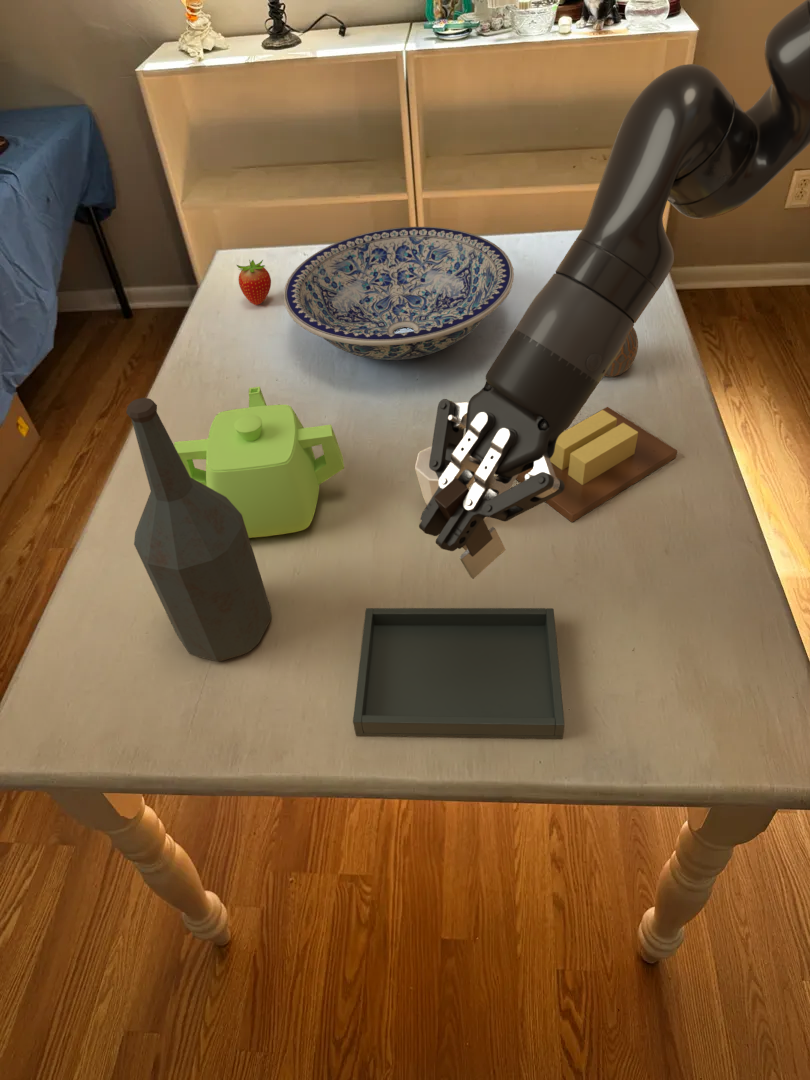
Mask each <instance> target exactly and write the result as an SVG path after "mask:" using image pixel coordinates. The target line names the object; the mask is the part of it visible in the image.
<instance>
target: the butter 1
mask: <svg viewBox="0 0 810 1080" xmlns="http://www.w3.org/2000/svg"><path fill="white" fill-rule="evenodd" d="M597 412H598V413H597ZM597 412H596V414H595V413H594V414H592V415H590V416H591V417H590V416H588V417H589V418H588V417H587V418H585V419H583V420H584V421H583V420H581V421H582V422H581V421H580V423H579V422H578V423H576V424H574V425H575V426H574V425H572V426H573V427H572V426H570V427H568V428H567V429H568V430H567V429H566V431H564V432H562V433H561V434H560V435H559V437H558V439H557V441H556V445H555V451H554V454H553V456H552V457H551V458H550V461H551V463H553V464H554V465H556V466H557V467H558V468H560V469H561V470H564V469H565V468H567V467H569V462H570V453H572V452H574V451H575V450H577V449H579V448H581V447H582V446H584V445H586V444H587V443H589V442H591V441H593V440H594V439H596V438H598V437H599V436H601V435H603V434H605V433H606V432H608V431H610V430H612V429H613V428H615V427H616V422H617V418H615V417H614V416H612V415H610V414H609V413H607V412H606V411H604V410H602V409H601V410H599V411H597Z"/></svg>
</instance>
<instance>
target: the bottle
mask: <svg viewBox="0 0 810 1080" xmlns="http://www.w3.org/2000/svg"><path fill="white" fill-rule="evenodd" d="M157 410H158V404H157V403H156V402H155V401H154V400H153V399H151V398H147V397H140V398H136V399H133V400H132V401H131V402H130V403H129V404H128V405H127V408H126V415H127V416H128V417H129V418H130V419H131V423H132V426H133V430H134V433H135V437H136V441H137V445H138V449H139V452H140V456H141V460H142V464H143V467H144V472H145V475H146V479H147V483H148V485H149V489H150V492H149V495H148V497H147V500H146V503H145V505H144V508H143V511H142V513H141V516H140V518H139V521H138V524H137V526H136V529H135V532H134V540H133V545H134V548H135V549H136V552H137V555H138V556H139V558H140V561H141V562H142V564H143V567H144V568H145V571H146V573H147V575H148V577H149V579H150V581H151V584H152V585H153V588H154V590H155V592H156V594H157V596H158V598H159V601H160V602H161V605H162V607H163V609H164V611H165V613H166V615H167V618H168V620H169V621H170V624H171V626H172V628H173V630H174V632H175V635H176V636H177V638H178V639H179V641H180V642H181V644H182V645H183V647H184V648H185V650H186V651H187V653H188V654H189V655H190V656H194V657H198V658H203V659H206V660H211V661H215V662H219V663H221V662H223V661H226V660H231V659H233V658H237V657H239V656H243V655H247V654H248V653H249V652H251V651H252V650H253V649H254V648H256V647H257V646H258V645H259V643H260V641H261V640H262V638H263V636H264V634H265V631H266V630H267V628H268V626H269V625H270V622H271V620H272V610H271V604H270V601H269V598H268V595H267V591H266V588H265V584H264V582H263V579H262V575H261V573H260V569H259V566H258V562H257V560H256V556H255V553H254V549H253V546H252V542H251V539H250V538H249V537H248V533H247V530H246V527H245V524H244V521H243V517H242V514H241V513H240V512H239V511H238V510H237V509H236V508H235V506H234V505H233V504H232V503H231V502H230V501H229V500H228V499H227V497H225V496H223V495H222V494H220V493H218V492H216V491H214V490H212V489H211V488H209V487H207V486H205V485H203V484H202V483H200V482H198V481H196V480H194V479H193V478H191V477H190V476H189V474H188V472H187V470H186V468H185V466H184V464H183V462H182V460H181V458H180V456H179V454H178V452H177V450H176V448H175V446H174V442H173V441H172V439H171V437H170V435H169V433H168V431H167V429H166V426H164V423H163V422H162V419H161V417H160V415H159V414H158V411H157Z"/></svg>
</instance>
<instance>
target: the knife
mask: <svg viewBox="0 0 810 1080" xmlns="http://www.w3.org/2000/svg"><path fill="white" fill-rule="evenodd" d="M469 490H470V488H469V489H468V488H467V487H466V486H465V485H464V484H463V483H461V482H460V481H459V480H458V479H457V478H455V479H454V480H452V481H451V482H450V483H449V484H448V485H447V486H446V487H445V488H443V489H442V490H441V491H440V492H439V493H438V494H437V495H436V496H434V500H435V501H436V503H437V505H438V507H439V508H440V510H441V512H442V514H443V515H444V517H445V519H446V521H447V522H448V521H449V519H450V518H451V517H452V515H453V514H454V512H455V511H456V509H457V508H458V506H459V505H460V506H463V500H464V498H465V497H466V495H467V493H468V492H469ZM484 519H485V518H484ZM484 519H483V520H482V521H481V522H480V523H479V525H478V526H477V528H476V529H475V531H474V532H473V534H472V535H471V537H470V538H469V539H468V541H467V543H466V544H465V546H463V547H462V548H461V549H463V550H464V552H463V553H462V554H460V555H459V556H458V558H459V560H460V561H461V563H462V565H463V567H464V568H465V570H466V572H467V574H468V575H469V577H470V578H471V579H472V580H474V579H476V577H478V575H480V574H481V573H482V572H483V571H484V570H485V569H486V568H487V567H488V566H490V565H491V564H492V563H493V562H494V561H495V560H497V558H498V557H500V555H502V554H503V553H504V552H505V551H506V548H505V545H504V543H503V541H502V539H501V537H500V534H499V533H498V531H497V528H496V527H495V526H491V527H490V528H489V527H488V526H487V523H486V522H485V520H484Z"/></svg>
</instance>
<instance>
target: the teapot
mask: <svg viewBox="0 0 810 1080" xmlns="http://www.w3.org/2000/svg"><path fill="white" fill-rule="evenodd" d="M173 445H174V446H175V448H176V450H177V452H178V454H179V456H180V458H181V460H182V462H183V464H184V466H185V468H186V470H187V472H188V474H189V476H190V477H191V478H193V479H194V480H196V481H198V482H200V483H202V484H203V485H205V486H207V487H209V488H211V489H212V490H214V491H216V492H218V493H220V494H222V495H223V496H225V497H227V499H228V500H229V501H230V502H231V503H232V504H233V505H234V506H235V508H236V509H237V510H238V511H239V512H240V513H241V514H242V517H243V521H244V524H245V527H246V530H247V533H248V537H249V539H251V538H263V537H272V536H280V535H285V534H286V535H287V534H292V533H297V532H302V531H304V530H306V529H308V528H309V527H310V525H311V523H312V521H313V519H314V515H315V512H316V508H317V503H318V499H319V493H320V485H322V484H323V483H324V482H326V481H327V480H329V479H331V478H332V477H334V476H335V475H336V474H338V473H340V472H341V471H343V470H344V469H345V464H344V456H343V453H342V450H341V448H340V445H339V442H338V439H337V437H336V434H335V431H334V429H333V426H332V424H325V425H317V426H310V427H309V426H308V427H304V425H303V424H302V422H301V421H300V419H299V417H298V416H297V414H296V412H295V411H294V409H293V408H292V406H291V405H289V404H270V405H268V404H267V403H266V400H265V396H264V394H263V392H262V389H261V386H254V387H249V388H248V407H243V408H235V409H229V410H223V411H219V412H218V413H217V414H216V415H215V416H214V418H213V420H212V421H211V426H210V427H209V431H208V437H207V438H203V439H193V440H192V439H191V440H180V441H174V442H173ZM317 446H321V449H322V453H323V454H322V455H320V456H319V457H317V458H316V457H315V453H314V449H313V447H317ZM194 460H205V470H204V469H201V468H198V467H195V463H194Z"/></svg>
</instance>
